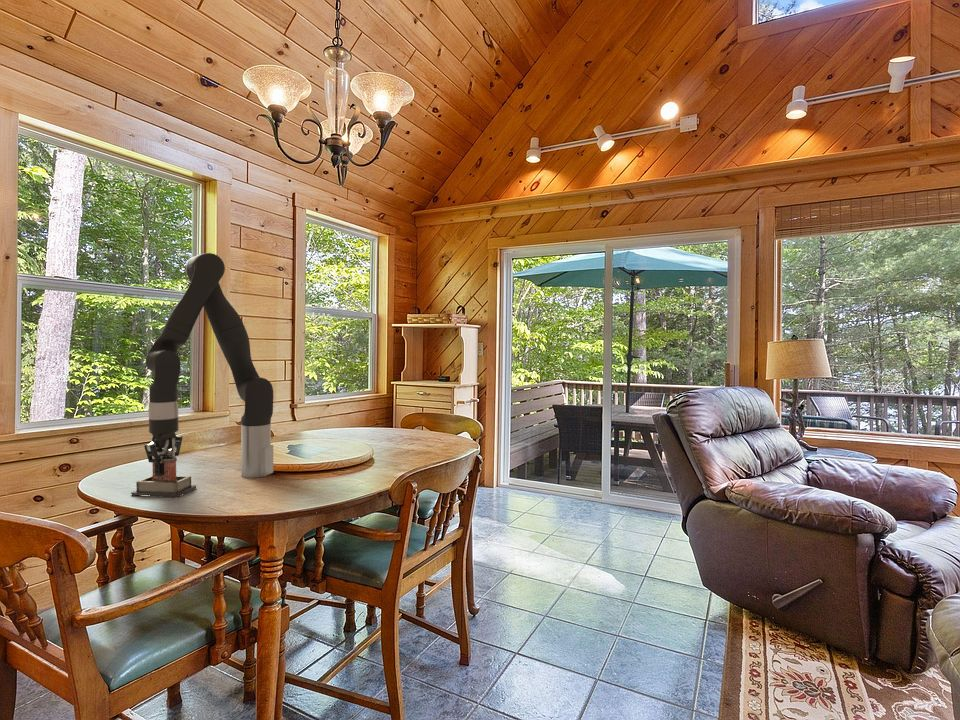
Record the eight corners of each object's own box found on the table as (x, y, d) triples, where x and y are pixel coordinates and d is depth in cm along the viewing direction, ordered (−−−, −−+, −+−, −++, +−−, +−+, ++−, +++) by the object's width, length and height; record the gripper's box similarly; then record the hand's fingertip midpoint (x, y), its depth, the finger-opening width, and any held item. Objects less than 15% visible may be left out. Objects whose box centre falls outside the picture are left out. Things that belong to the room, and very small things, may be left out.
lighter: (180, 482, 154) (179, 449, 154) (170, 485, 151) (170, 451, 151) (158, 479, 156) (158, 447, 156) (148, 482, 153) (148, 449, 153)
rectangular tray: (152, 487, 159) (152, 474, 159) (196, 488, 158) (196, 475, 158) (131, 495, 150) (130, 482, 150) (177, 497, 149) (176, 483, 149)
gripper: (159, 420, 146) (160, 480, 146) (190, 413, 160) (191, 468, 161) (134, 420, 146) (135, 479, 147) (167, 412, 160) (168, 467, 161)
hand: (164, 473), depth 154 cm, fingers closed on lighter, 3 cm apart
